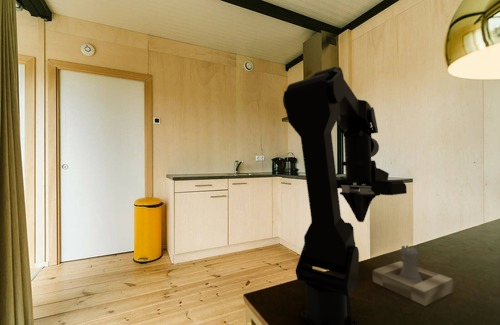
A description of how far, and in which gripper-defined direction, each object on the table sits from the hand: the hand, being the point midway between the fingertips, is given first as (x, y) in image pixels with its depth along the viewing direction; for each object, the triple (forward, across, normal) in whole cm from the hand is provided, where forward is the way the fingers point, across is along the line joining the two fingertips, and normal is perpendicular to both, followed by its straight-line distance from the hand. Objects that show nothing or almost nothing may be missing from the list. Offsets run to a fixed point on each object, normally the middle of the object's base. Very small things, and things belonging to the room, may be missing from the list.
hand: (360, 221), depth 54 cm
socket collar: (+12, -9, -3) cm, 15 cm away
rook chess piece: (+12, -9, -3) cm, 15 cm away
